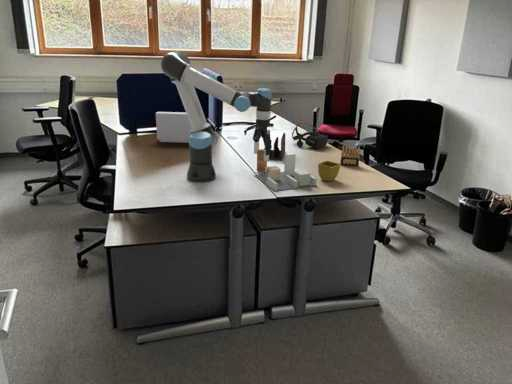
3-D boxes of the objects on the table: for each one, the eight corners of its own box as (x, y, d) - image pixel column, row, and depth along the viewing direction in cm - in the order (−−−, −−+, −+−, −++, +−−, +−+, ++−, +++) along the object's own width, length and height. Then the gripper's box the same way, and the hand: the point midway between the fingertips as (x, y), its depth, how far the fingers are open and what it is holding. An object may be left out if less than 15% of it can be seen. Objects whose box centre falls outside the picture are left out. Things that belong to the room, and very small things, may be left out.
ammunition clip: (358, 165, 250) (360, 146, 246) (358, 166, 249) (360, 146, 244) (340, 164, 252) (342, 144, 248) (340, 165, 251) (341, 145, 246)
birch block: (255, 170, 235) (256, 149, 231) (265, 169, 237) (266, 148, 233) (269, 181, 219) (270, 158, 215) (280, 179, 222) (281, 157, 217)
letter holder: (285, 152, 275) (286, 131, 270) (281, 161, 256) (282, 138, 251) (269, 151, 276) (270, 130, 271) (265, 160, 258) (266, 137, 253)
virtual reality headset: (315, 153, 280) (319, 131, 274) (285, 143, 292) (289, 122, 286) (328, 147, 294) (332, 127, 288) (300, 138, 306) (303, 118, 300)
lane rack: (254, 176, 229) (254, 168, 227) (293, 171, 238) (294, 164, 236) (274, 191, 207) (274, 184, 206) (316, 185, 216) (317, 178, 215)
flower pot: (339, 180, 226) (341, 163, 222) (330, 183, 220) (332, 167, 216) (325, 176, 231) (326, 160, 228) (316, 179, 225) (317, 163, 222)
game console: (196, 143, 291) (195, 114, 284) (157, 142, 292) (155, 113, 285) (198, 141, 297) (197, 112, 290) (159, 140, 297) (157, 111, 290)
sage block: (283, 175, 229) (284, 153, 225) (293, 173, 231) (294, 152, 227) (299, 186, 213) (300, 163, 209) (309, 184, 216) (311, 162, 211)
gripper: (279, 123, 215) (277, 163, 223) (260, 113, 237) (258, 150, 244) (266, 123, 213) (264, 164, 220) (247, 114, 234) (246, 151, 241)
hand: (261, 157), depth 232 cm, fingers open, 13 cm apart
